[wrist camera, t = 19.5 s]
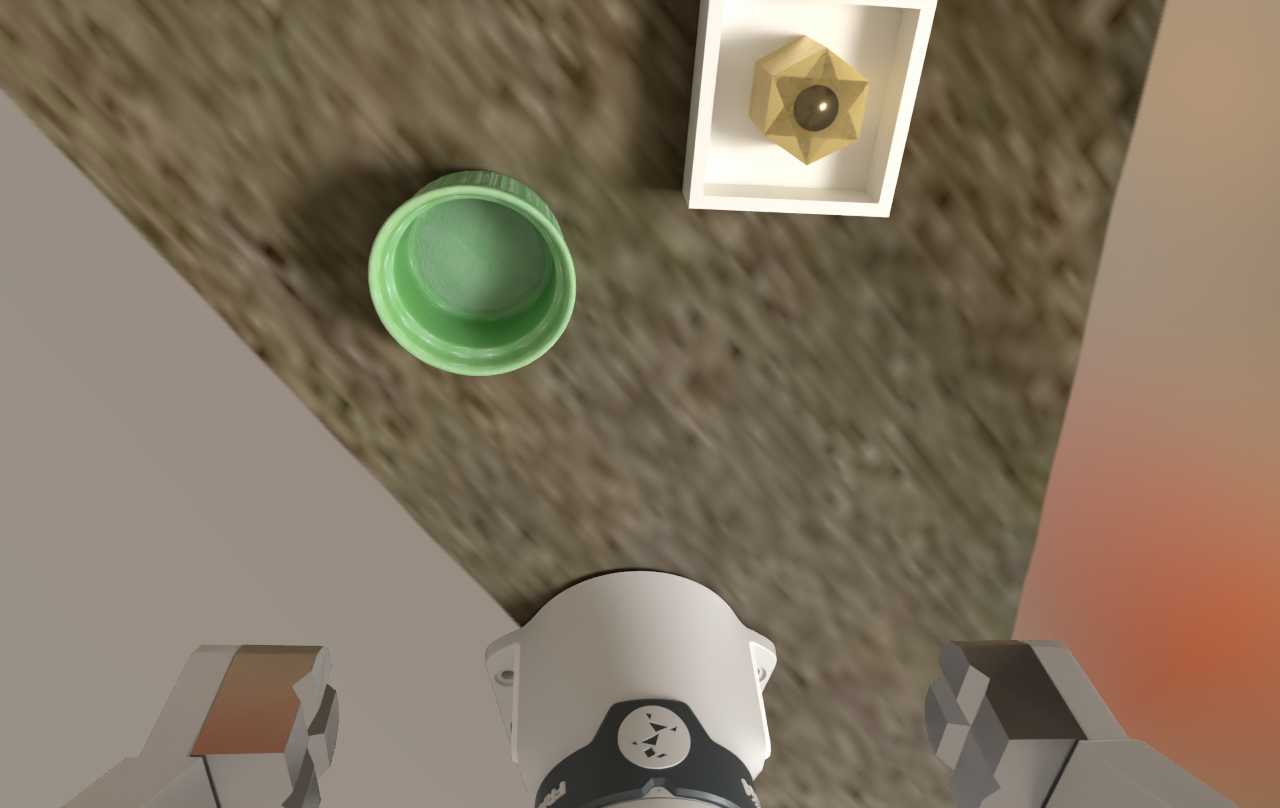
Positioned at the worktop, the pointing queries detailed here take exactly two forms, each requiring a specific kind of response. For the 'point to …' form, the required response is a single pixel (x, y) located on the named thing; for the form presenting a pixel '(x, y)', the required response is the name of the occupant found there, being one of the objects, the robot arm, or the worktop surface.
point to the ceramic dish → (755, 165)
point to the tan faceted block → (808, 100)
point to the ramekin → (473, 274)
